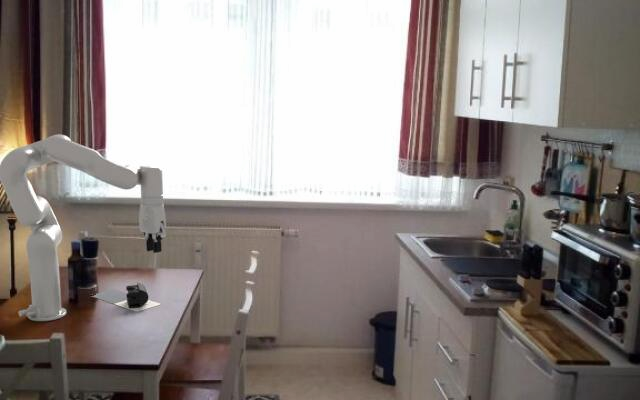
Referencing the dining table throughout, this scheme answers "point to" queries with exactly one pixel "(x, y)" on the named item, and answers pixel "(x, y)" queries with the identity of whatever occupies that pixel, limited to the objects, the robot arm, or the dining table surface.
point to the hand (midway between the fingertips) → (154, 250)
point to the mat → (112, 296)
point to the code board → (145, 306)
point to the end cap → (136, 295)
